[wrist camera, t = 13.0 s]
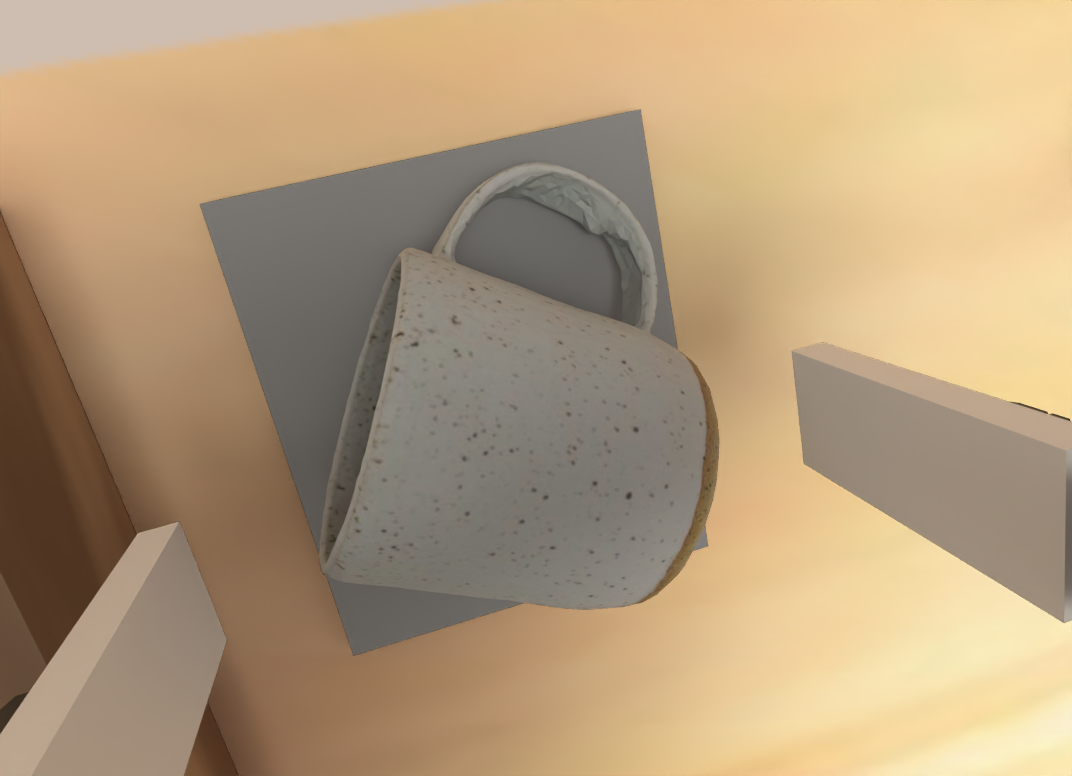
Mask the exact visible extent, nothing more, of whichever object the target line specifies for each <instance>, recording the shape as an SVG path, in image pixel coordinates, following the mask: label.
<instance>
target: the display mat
mask: <svg viewBox="0 0 1072 776" xmlns="http://www.w3.org/2000/svg"><path fill="white" fill-rule="evenodd" d="M536 162H540V163H549V164H554V165H558V166H562V167H565V168H568V169H571V170H574V171H576V172H578V173H581V174H583V175H585V176H587V177H589V178H591V179H593V180H595V181H597V182H598V183H600V184H602V185H603V186H604V187H605V188H606V189H608V190H609V191H611V192H612V193H613V194H615V195H616V196H617V197H618V198H619V199H620V200H621V201H622V202H624V203H625V204H626V205H627V207H628V208H629V209H630V211H631V212H632V213H633V215H634V216H635V218H636V219H637V220H638V222H639V223H640V225H641V227H642V229H643V231H644V232H645V234H646V236H647V238H648V240H649V242H650V244H651V247H652V251H653V255H654V261H655V267H656V273H657V278H658V282H657V305H656V310H655V320H654V322H653V324H652V327H651V335H653V336H655V337H657V338H659V339H660V340H662V341H664V342H665V343H667V344H669V345H671V346H672V347H674V348H676V349H677V350H678V348H677V342H676V335H675V329H674V322H673V316H672V309H671V303H670V296H669V290H668V284H667V277H666V271H665V264H664V258H663V251H662V245H661V238H660V232H659V225H658V219H657V213H656V206H655V200H654V193H653V187H652V180H651V174H650V167H649V161H648V154H647V148H646V141H645V135H644V129H643V122H642V116H641V109H640V110H635V111H631V112H626V113H621V114H617V115H612V116H607V117H603V118H598V119H593V120H589V121H584V122H579V123H575V124H570V125H565V126H561V127H556V128H551V129H547V130H542V131H537V132H533V133H528V134H523V135H519V136H514V137H509V138H505V139H500V140H495V141H491V142H486V143H481V144H477V145H472V146H467V147H463V148H458V149H453V150H449V151H444V152H439V153H435V154H430V155H425V156H421V157H416V158H411V159H407V160H402V161H397V162H393V163H388V164H383V165H379V166H374V167H369V168H365V169H360V170H355V171H351V172H346V173H341V174H337V175H332V176H327V177H323V178H318V179H313V180H309V181H304V182H299V183H295V184H290V185H286V186H281V187H276V188H272V189H267V190H262V191H258V192H253V193H248V194H244V195H239V196H234V197H230V198H225V199H220V200H216V201H211V202H206V203H202V204H200V207H201V210H202V213H203V216H204V218H205V221H206V224H207V227H208V230H209V233H210V236H211V239H212V242H213V245H214V248H215V251H216V254H217V257H218V260H219V263H220V265H221V268H222V271H223V274H224V277H225V280H226V283H227V286H228V289H229V292H230V295H231V298H232V301H233V304H234V307H235V309H236V312H237V315H238V318H239V321H240V324H241V327H242V330H243V333H244V336H245V339H246V342H247V345H248V348H249V351H250V354H251V356H252V359H253V362H254V365H255V368H256V371H257V374H258V377H259V380H260V383H261V386H262V389H263V392H264V395H265V398H266V400H267V403H268V406H269V409H270V412H271V415H272V418H273V421H274V424H275V427H276V430H277V433H278V436H279V439H280V442H281V445H282V447H283V450H284V453H285V456H286V459H287V462H288V465H289V468H290V471H291V474H292V477H293V480H294V483H295V486H296V489H297V492H298V494H299V497H300V500H301V503H302V506H303V509H304V512H305V515H306V518H307V521H308V524H309V527H310V530H311V533H312V536H313V538H314V541H315V544H316V547H317V550H318V553H319V554H320V538H321V528H322V520H323V511H324V507H325V502H326V492H327V486H328V482H329V478H330V474H331V470H332V464H333V459H334V454H335V450H336V447H337V443H338V439H339V434H340V430H341V425H342V420H343V417H344V414H345V410H346V403H347V400H348V397H349V394H350V391H351V387H352V383H353V379H354V376H355V372H356V368H357V364H358V361H359V357H360V354H361V351H362V349H363V346H364V344H365V340H366V337H367V334H368V331H369V326H370V321H371V318H372V315H373V313H374V310H375V307H376V304H377V301H378V299H379V296H380V294H381V291H382V287H383V285H384V282H385V280H386V278H387V276H388V274H389V271H390V268H391V266H392V265H393V263H394V261H395V260H396V258H397V256H398V255H399V254H400V253H401V252H402V251H403V250H404V249H406V248H411V247H412V248H415V249H418V250H422V251H425V252H427V253H430V254H432V251H433V248H434V247H435V245H436V243H437V242H438V240H439V238H440V237H441V235H442V233H443V232H444V230H445V228H446V227H447V225H448V223H449V222H450V220H451V218H452V217H453V215H454V214H455V212H456V211H457V209H458V208H459V207H460V205H461V204H462V203H463V201H464V200H465V199H466V198H467V197H468V196H469V195H470V194H471V193H472V192H473V191H474V190H475V189H476V188H477V187H478V186H480V185H481V184H482V183H483V182H485V181H486V180H488V179H489V178H491V177H493V176H494V175H496V174H498V173H500V172H502V171H504V170H506V169H508V168H510V167H513V166H516V165H521V164H525V163H536ZM454 257H455V260H456V263H458V264H461V265H463V266H466V267H468V268H471V269H474V270H476V271H479V272H481V273H484V274H487V275H490V276H493V277H496V278H499V279H502V280H505V281H508V282H511V283H514V284H516V285H519V286H521V287H524V288H526V289H529V290H531V291H534V292H536V293H538V294H541V295H543V296H546V297H548V298H551V299H553V300H556V301H559V302H562V303H565V304H568V305H570V306H573V307H576V308H579V309H582V310H585V311H589V312H592V313H596V314H599V315H602V316H605V317H608V318H611V319H614V320H617V321H621V319H622V302H623V291H622V288H621V275H620V269H619V266H618V264H617V261H616V258H615V256H614V254H613V252H612V250H611V247H610V246H609V244H608V243H607V242H606V240H605V239H604V237H603V236H602V235H601V234H600V235H595V234H590V233H588V232H587V231H586V229H585V228H584V227H583V226H582V225H581V224H580V223H578V222H577V221H575V220H573V219H572V218H570V217H568V216H566V215H564V214H562V213H559V212H557V211H555V210H553V209H551V208H548V207H546V206H544V205H542V204H540V203H538V202H536V201H533V200H530V199H528V198H525V197H522V198H514V197H511V196H509V197H502V198H500V199H496V200H494V201H493V202H490V203H489V204H488V205H486V206H485V207H484V208H482V209H481V210H479V211H478V212H477V214H476V215H475V216H474V218H473V219H472V220H471V221H470V223H469V224H468V225H467V227H466V229H465V230H464V231H463V233H462V234H461V236H460V238H459V240H458V242H457V245H456V247H455V252H454ZM707 546H708V542H707V535H706V529H705V526H704V529H703V532H702V533H701V535H700V537H699V539H698V541H697V543H696V545H695V547H694V549H693V551H694V550H697V549H701V548H704V547H707ZM326 577H327V580H328V583H329V585H330V588H331V591H332V594H333V597H334V600H335V603H336V606H337V609H338V612H339V615H340V618H341V621H342V624H343V627H344V629H345V632H346V635H347V638H348V641H349V644H350V647H351V650H352V653H353V656H355V655H358V654H361V653H364V652H367V651H371V650H374V649H377V648H380V647H384V646H387V645H390V644H393V643H397V642H400V641H403V640H406V639H410V638H413V637H416V636H419V635H422V634H426V633H429V632H432V631H435V630H439V629H442V628H445V627H448V626H452V625H455V624H458V623H461V622H465V621H468V620H471V619H474V618H477V617H481V616H484V615H487V614H490V613H494V612H497V611H500V610H503V609H507V608H510V607H513V606H516V605H519V604H523V602H517V601H510V600H500V599H488V598H476V597H469V596H462V595H453V594H444V593H437V592H428V591H420V590H411V589H404V588H397V587H387V586H376V585H365V584H356V583H346V582H341V581H337V580H333V579H331V578H329V577H328V576H326Z"/></svg>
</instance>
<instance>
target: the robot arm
mask: <svg viewBox="0 0 1072 776" xmlns="http://www.w3.org/2000/svg"><path fill="white" fill-rule="evenodd" d="M792 358H793V367H794V377H795V386H796V396H797V405H798V414H799V424H800V433H801V442H802V452H803V461H804V464H805V465H807V466H808V467H810V468H812V469H813V470H815V471H817V472H818V473H820V474H822V475H823V476H825V477H826V478H828V479H830V480H831V481H833V482H835V483H836V484H838V485H839V486H841V487H843V488H844V489H846V490H848V491H849V492H851V493H853V494H854V495H856V496H857V497H859V498H861V499H862V500H864V501H866V502H867V503H869V504H871V505H872V506H874V507H875V508H877V509H879V510H880V511H882V512H884V513H885V514H887V515H889V516H890V517H892V518H893V519H895V520H897V521H898V522H900V523H902V524H903V525H905V526H906V527H908V528H910V529H911V530H913V531H915V532H916V533H918V534H920V535H921V536H923V537H924V538H926V539H928V540H929V541H931V542H933V543H934V544H936V545H938V546H939V547H941V548H942V549H944V550H946V551H947V552H949V553H951V554H952V555H954V556H955V557H957V558H959V559H960V560H962V561H964V562H965V563H967V564H969V565H970V566H972V567H973V568H975V569H977V570H978V571H980V572H982V573H983V574H985V575H987V576H988V577H990V578H991V579H993V580H995V581H996V582H998V583H1000V584H1001V585H1003V586H1004V587H1006V588H1008V589H1009V590H1011V591H1013V592H1014V593H1016V594H1018V595H1019V596H1021V597H1022V598H1024V599H1026V600H1027V601H1029V602H1031V603H1032V604H1034V605H1036V606H1037V607H1039V608H1040V609H1042V610H1044V611H1045V612H1047V613H1049V614H1050V615H1052V616H1054V617H1055V618H1057V619H1058V620H1060V621H1062V622H1063V623H1066V622H1068V621H1071V620H1072V422H1071V421H1070V419H1068V418H1065V417H1062V416H1059V415H1056V414H1050V415H1049V414H1048V413H1047V412H1046V411H1043V410H1040V409H1037V408H1034V407H1030V406H1027V405H1024V404H1021V403H1015V402H1008V401H1005V400H1002V399H999V398H996V397H993V396H989V395H986V394H983V393H980V392H977V391H974V390H971V389H967V388H964V387H961V386H958V385H955V384H952V383H949V382H946V381H942V380H939V379H936V378H933V377H930V376H927V375H924V374H920V373H917V372H914V371H911V370H908V369H905V368H902V367H899V366H895V365H892V364H889V363H886V362H883V361H880V360H877V359H874V358H870V357H867V356H864V355H861V354H858V353H855V352H852V351H848V350H845V349H842V348H839V347H836V346H833V345H830V344H827V343H823V342H822V343H818V344H815V345H811V346H808V347H804V348H800V349H797V350H793V351H792ZM226 642H227V639H226V636H225V634H224V631H223V629H222V626H221V624H220V621H219V619H218V616H217V614H216V611H215V609H214V606H213V604H212V601H211V599H210V596H209V594H208V591H207V589H206V586H205V584H204V581H203V579H202V576H201V574H200V571H199V569H198V566H197V564H196V561H195V559H194V556H193V554H192V551H191V549H190V546H189V544H188V541H187V539H186V536H185V534H184V531H183V529H182V526H181V524H180V521H179V522H176V523H172V524H169V525H165V526H161V527H158V528H154V529H151V530H147V531H143V532H140V533H138V534H137V536H136V537H135V538H134V540H133V541H132V543H131V544H130V546H129V547H128V549H127V550H126V552H125V553H124V554H123V556H122V557H121V559H120V560H119V562H118V563H117V565H116V566H115V568H114V569H113V571H112V572H111V573H110V575H109V576H108V578H107V579H106V581H105V582H104V584H103V585H102V587H101V588H100V589H99V591H98V592H97V594H96V595H95V597H94V598H93V600H92V601H91V603H90V604H89V606H88V607H87V608H86V610H85V611H84V613H83V614H82V616H81V617H80V619H79V620H78V622H77V623H76V624H75V626H74V627H73V629H72V630H71V632H70V633H69V635H68V636H67V638H66V639H65V641H64V642H63V643H62V645H61V646H60V648H59V649H58V651H57V652H56V654H55V655H54V657H53V658H52V659H51V661H50V662H49V664H48V665H47V667H46V668H45V670H44V671H43V673H42V674H41V676H40V677H39V678H38V680H37V681H36V683H35V684H34V686H33V687H32V689H31V690H30V692H27V693H24V694H20V695H17V696H15V697H14V698H13V699H12V700H11V701H9V702H8V703H7V704H6V705H5V706H4V707H3V708H1V709H0V776H184V773H185V770H186V767H187V764H188V761H189V757H190V754H191V751H192V748H193V745H194V742H195V739H196V735H197V732H198V729H199V726H200V723H201V720H202V717H203V714H204V710H205V707H206V704H207V701H208V698H209V695H210V692H211V689H212V685H213V682H214V679H215V676H216V673H217V670H218V667H219V664H220V660H221V657H222V654H223V651H224V648H225V645H226Z"/></svg>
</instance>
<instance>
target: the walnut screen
mask: <svg viewBox="0 0 1072 776" xmlns="http://www.w3.org/2000/svg"><path fill="white" fill-rule="evenodd" d="M136 536H137V535H136V533H135V530H134V528H133V525H132V523H131V521H130V518H129V516H128V514H127V511H126V509H125V507H124V504H123V502H122V499H121V497H120V495H119V492H118V490H117V488H116V485H115V483H114V481H113V478H112V476H111V474H110V471H109V469H108V466H107V464H106V462H105V459H104V457H103V455H102V452H101V450H100V448H99V445H98V443H97V440H96V438H95V436H94V433H93V431H92V429H91V426H90V424H89V422H88V419H87V417H86V414H85V412H84V410H83V407H82V405H81V403H80V400H79V398H78V396H77V393H76V391H75V388H74V386H73V384H72V381H71V379H70V377H69V374H68V372H67V370H66V367H65V365H64V363H63V360H62V358H61V355H60V353H59V351H58V348H57V346H56V344H55V341H54V339H53V337H52V334H51V332H50V329H49V327H48V325H47V322H46V320H45V318H44V315H43V313H42V311H41V308H40V306H39V303H38V301H37V299H36V296H35V294H34V292H33V289H32V287H31V285H30V282H29V280H28V278H27V275H26V273H25V270H24V268H23V266H22V263H21V261H20V259H19V256H18V254H17V252H16V249H15V247H14V244H13V242H12V240H11V237H10V235H9V233H8V230H7V228H6V226H5V223H4V221H3V218H2V216H1V214H0V709H1V708H3V707H4V706H5V705H6V704H7V703H8V702H9V701H11V700H12V699H13V698H14V697H15V696H17V695H20V694H24V693H27V692H30V690H31V689H32V687H33V686H34V684H35V683H36V681H37V680H38V678H39V677H40V676H41V674H42V673H43V671H44V670H45V668H46V667H47V665H48V664H49V662H50V661H51V659H52V658H53V657H54V655H55V654H56V652H57V651H58V649H59V648H60V646H61V645H62V643H63V642H64V641H65V639H66V638H67V636H68V635H69V633H70V632H71V630H72V629H73V627H74V626H75V624H76V623H77V622H78V620H79V619H80V617H81V616H82V614H83V613H84V611H85V610H86V608H87V607H88V606H89V604H90V603H91V601H92V600H93V598H94V597H95V595H96V594H97V592H98V591H99V589H100V588H101V587H102V585H103V584H104V582H105V581H106V579H107V578H108V576H109V575H110V573H111V572H112V571H113V569H114V568H115V566H116V565H117V563H118V562H119V560H120V559H121V557H122V556H123V554H124V553H125V552H126V550H127V549H128V547H129V546H130V544H131V543H132V541H133V540H134V538H135V537H136ZM184 776H238V773H237V771H236V769H235V766H234V764H233V762H232V759H231V757H230V755H229V752H228V750H227V747H226V745H225V743H224V740H223V738H222V736H221V733H220V731H219V729H218V726H217V724H216V721H215V719H214V717H213V714H212V712H211V710H210V707H209V705H208V703H207V704H206V707H205V710H204V714H203V717H202V720H201V723H200V726H199V729H198V732H197V735H196V739H195V742H194V745H193V748H192V751H191V754H190V757H189V761H188V764H187V767H186V770H185V773H184Z"/></svg>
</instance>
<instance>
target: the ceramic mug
mask: <svg viewBox="0 0 1072 776" xmlns="http://www.w3.org/2000/svg"><path fill="white" fill-rule="evenodd" d="M509 196H511V197H514V198H522V197H525V198H528V199H530V200H533V201H536V202H538V203H540V204H542V205H544V206H546V207H548V208H551V209H553V210H555V211H557V212H559V213H562V214H564V215H566V216H568V217H570V218H572V219H573V220H575V221H577V222H578V223H580V224H581V225H582V226H583V227H584V228H585V229H586V231H587V232H588V233H590V234H595V235H600V234H601V235H602V236H603V237H604V239H605V240H606V242H607V243H608V244H609V246H610V247H611V250H612V252H613V254H614V256H615V258H616V261H617V264H618V266H619V269H620V275H621V288H622V291H623V302H622V319H621V321H617V320H614V319H611V318H608V317H605V316H602V315H599V314H596V313H592V312H589V311H585V310H582V309H579V308H576V307H573V306H570V305H568V304H565V303H562V302H559V301H556V300H553V299H551V298H548V297H546V296H543V295H541V294H538V293H536V292H534V291H531V290H529V289H526V288H524V287H521V286H519V285H516V284H514V283H511V282H508V281H505V280H502V279H499V278H496V277H493V276H490V275H487V274H484V273H481V272H479V271H476V270H474V269H471V268H468V267H466V266H463V265H461V264H458V263H456V260H455V257H454V252H455V247H456V245H457V242H458V240H459V238H460V236H461V234H462V233H463V231H464V230H465V229H466V227H467V225H468V224H469V223H470V221H471V220H472V219H473V218H474V216H475V215H476V214H477V212H478V211H479V210H481V209H482V208H484V207H485V206H486V205H488V204H489V203H490V202H493V201H494V200H496V199H500V198H502V197H509ZM657 282H658V278H657V273H656V267H655V261H654V255H653V251H652V247H651V244H650V242H649V240H648V238H647V236H646V234H645V232H644V231H643V229H642V227H641V225H640V223H639V222H638V220H637V219H636V218H635V216H634V215H633V213H632V212H631V211H630V209H629V208H628V207H627V205H626V204H625V203H624V202H622V201H621V200H620V199H619V198H618V197H617V196H616V195H615V194H613V193H612V192H611V191H609V190H608V189H606V188H605V187H604V186H603V185H602V184H600V183H598V182H597V181H595V180H593V179H591V178H589V177H587V176H585V175H583V174H581V173H578V172H576V171H574V170H571V169H568V168H565V167H562V166H558V165H554V164H549V163H540V162H536V163H525V164H521V165H516V166H513V167H510V168H508V169H506V170H504V171H502V172H500V173H498V174H496V175H494V176H493V177H491V178H489V179H488V180H486V181H485V182H483V183H482V184H481V185H480V186H478V187H477V188H476V189H475V190H474V191H473V192H472V193H471V194H470V195H469V196H468V197H467V198H466V199H465V200H464V201H463V203H462V204H461V205H460V207H459V208H458V209H457V211H456V212H455V214H454V215H453V217H452V218H451V220H450V222H449V223H448V225H447V227H446V228H445V230H444V232H443V233H442V235H441V237H440V238H439V240H438V242H437V243H436V245H435V247H434V248H433V251H432V254H430V253H427V252H425V251H422V250H418V249H415V248H412V247H411V248H406V249H404V250H403V251H402V252H401V253H400V254H399V255H398V256H397V258H396V260H395V261H394V263H393V265H392V266H391V268H390V271H389V274H388V276H387V278H386V280H385V282H384V285H383V287H382V291H381V294H380V296H379V299H378V301H377V304H376V307H375V310H374V313H373V315H372V318H371V321H370V326H369V331H368V334H367V337H366V340H365V344H364V346H363V349H362V351H361V354H360V357H359V361H358V364H357V368H356V372H355V376H354V379H353V383H352V387H351V391H350V394H349V397H348V400H347V403H346V410H345V414H344V417H343V420H342V425H341V430H340V434H339V439H338V443H337V447H336V450H335V454H334V459H333V464H332V470H331V474H330V478H329V482H328V486H327V492H326V502H325V507H324V511H323V520H322V528H321V538H320V554H319V561H320V567H321V571H322V573H323V574H324V575H326V576H328V577H329V578H331V579H333V580H337V581H341V582H346V583H356V584H365V585H376V586H387V587H397V588H404V589H411V590H420V591H428V592H437V593H444V594H453V595H462V596H469V597H476V598H488V599H500V600H510V601H517V602H523V603H529V604H536V605H543V606H550V607H558V608H565V609H581V610H590V609H602V608H615V607H624V606H629V605H633V604H637V603H641V602H644V601H646V600H647V599H649V598H651V597H653V596H655V595H657V594H658V593H659V592H660V591H661V590H662V589H663V588H664V587H665V586H666V585H667V584H668V583H670V582H671V581H672V580H673V579H674V578H675V577H676V576H677V575H678V574H679V572H680V571H681V570H682V568H683V567H684V565H685V564H686V562H687V560H688V558H689V556H690V555H691V553H692V551H693V549H694V547H695V545H696V543H697V541H698V539H699V537H700V535H701V533H702V532H703V529H704V526H705V523H706V520H707V517H708V514H709V510H710V507H711V504H712V501H713V496H714V491H715V486H716V481H717V470H718V459H719V431H718V421H717V416H716V412H715V408H714V404H713V400H712V396H711V392H710V388H709V387H708V385H707V383H706V381H705V380H704V378H703V376H702V375H701V373H700V371H699V369H698V368H697V366H696V365H695V364H694V363H693V362H692V361H691V360H690V359H689V358H688V357H686V356H685V355H684V354H682V353H681V352H680V351H679V350H677V349H676V348H674V347H672V346H671V345H669V344H667V343H665V342H664V341H662V340H660V339H659V338H657V337H655V336H653V335H651V327H652V324H653V322H654V320H655V310H656V305H657Z"/></svg>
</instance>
